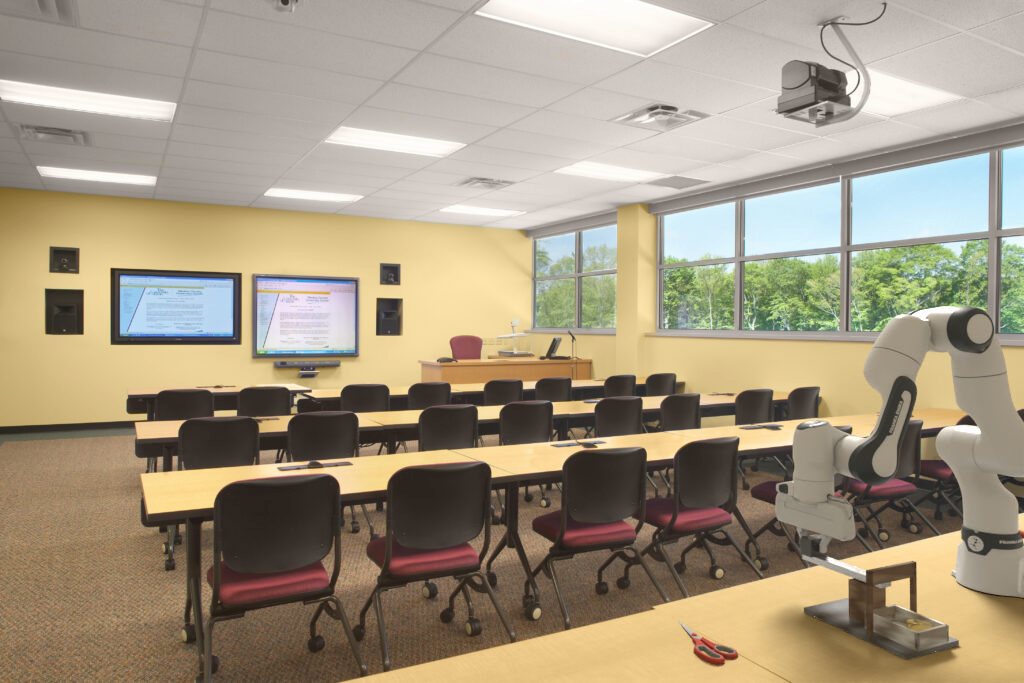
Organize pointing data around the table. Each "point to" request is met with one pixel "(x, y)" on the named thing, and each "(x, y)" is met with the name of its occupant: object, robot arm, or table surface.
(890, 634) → the shaft stand
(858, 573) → the steel shaft
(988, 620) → the table surface
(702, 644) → the scissors
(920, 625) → the brass spacer
